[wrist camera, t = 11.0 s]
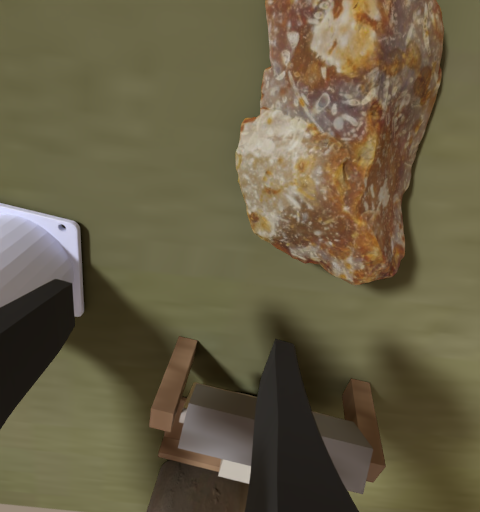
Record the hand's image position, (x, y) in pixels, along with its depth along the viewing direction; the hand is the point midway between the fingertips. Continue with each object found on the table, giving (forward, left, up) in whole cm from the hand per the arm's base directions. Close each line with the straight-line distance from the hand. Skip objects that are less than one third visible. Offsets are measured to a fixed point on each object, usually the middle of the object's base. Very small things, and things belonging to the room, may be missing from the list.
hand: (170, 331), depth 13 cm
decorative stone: (+4, +6, -11) cm, 13 cm away
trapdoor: (+6, -11, -7) cm, 14 cm away
